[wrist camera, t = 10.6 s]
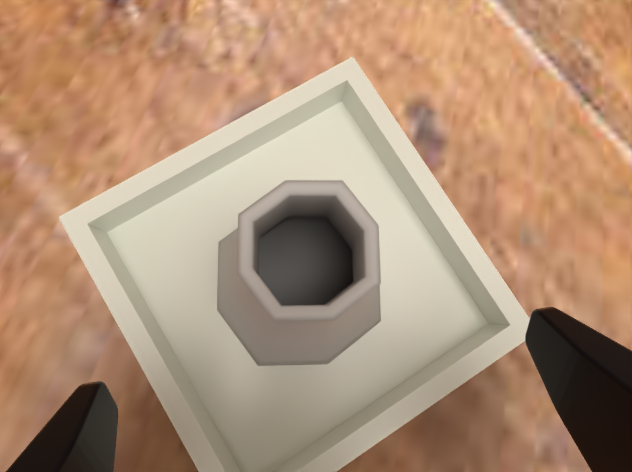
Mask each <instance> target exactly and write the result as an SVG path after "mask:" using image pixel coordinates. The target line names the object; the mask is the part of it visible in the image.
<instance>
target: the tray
mask: <svg viewBox="0 0 632 472" xmlns="http://www.w3.org/2000/svg"><path fill="white" fill-rule="evenodd" d="M285 180H343V181H344V183H345V184H346V185H347V186H348V188H349V189H350V190H351V191H352V193H353V194H354V195H355V196H356V198H357V199H358V200H359V201H360V203H361V204H362V205H363V206H364V208H365V209H366V210H367V211H368V213H369V214H370V215H371V216H372V218H373V219H374V220H375V221H376V223H377V224H378V225H379V247H380V273H381V284H380V310H381V322H379V323H378V324H377V325H376V326H374V327H373V328H372V329H371V330H370V331H368V332H367V333H366V334H365V335H363V336H362V337H361V338H360V339H358V340H357V341H356V342H355V343H353V344H352V345H351V346H350V347H349V348H347V349H346V350H345V351H344V352H342V353H341V354H340V355H339V356H337V357H336V358H335V359H334V360H333V361H331V362H330V363H329V364H322V365H276V366H258V365H257V364H256V362H255V361H254V360H253V358H252V357H251V356H250V354H249V353H248V351H247V350H246V349H245V347H244V346H243V345H242V343H241V342H240V341H239V339H238V338H237V336H236V335H235V334H234V332H233V331H232V330H231V328H230V327H229V326H228V324H227V323H226V321H225V320H224V319H223V317H222V316H221V315H220V313H219V312H218V311H217V285H218V242H219V241H220V240H222V239H223V238H225V237H226V236H227V235H229V234H230V233H231V232H233V231H234V230H236V229H237V228H238V214H239V213H241V212H242V211H243V210H245V209H246V208H248V207H249V206H250V205H252V204H253V203H254V202H256V201H257V200H259V199H260V198H261V197H263V196H264V195H266V194H267V193H268V192H270V191H271V190H273V189H274V188H275V187H277V186H278V185H279V184H281V183H282V182H284V181H285ZM59 219H60V221H61V223H62V224H63V226H64V228H65V230H66V232H67V234H68V235H69V237H70V239H71V241H72V243H73V244H74V246H75V248H76V250H77V252H78V254H79V255H80V257H81V259H82V261H83V263H84V264H85V266H86V268H87V270H88V272H89V274H90V275H91V277H92V279H93V281H94V283H95V284H96V286H97V288H98V290H99V292H100V293H101V295H102V297H103V299H104V301H105V303H106V304H107V306H108V308H109V310H110V312H111V313H112V315H113V317H114V319H115V321H116V323H117V324H118V326H119V328H120V330H121V332H122V333H123V335H124V337H125V339H126V341H127V343H128V344H129V346H130V348H131V350H132V352H133V353H134V355H135V357H136V359H137V361H138V363H139V364H140V366H141V368H142V370H143V372H144V373H145V375H146V377H147V379H148V381H149V382H150V384H151V386H152V388H153V390H154V392H155V393H156V395H157V397H158V399H159V401H160V402H161V404H162V406H163V408H164V410H165V412H166V413H167V415H168V417H169V419H170V421H171V422H172V424H173V426H174V428H175V430H176V432H177V433H178V435H179V437H180V439H181V441H182V442H183V444H184V446H185V448H186V450H187V452H188V453H189V455H190V457H191V459H192V461H193V462H194V464H195V466H196V468H197V470H198V472H337V471H338V470H339V469H341V468H342V467H344V466H345V465H347V464H348V463H350V462H351V461H352V460H354V459H355V458H357V457H358V456H360V455H361V454H363V453H364V452H365V451H367V450H368V449H370V448H371V447H373V446H374V445H375V444H377V443H378V442H380V441H381V440H383V439H384V438H386V437H387V436H388V435H390V434H391V433H393V432H394V431H396V430H397V429H399V428H400V427H401V426H403V425H404V424H406V423H407V422H409V421H410V420H412V419H413V418H414V417H416V416H417V415H419V414H420V413H422V412H423V411H425V410H426V409H427V408H429V407H430V406H432V405H433V404H435V403H436V402H437V401H439V400H440V399H442V398H443V397H445V396H446V395H448V394H449V393H450V392H452V391H453V390H455V389H456V388H458V387H459V386H461V385H462V384H463V383H465V382H466V381H468V380H469V379H471V378H472V377H474V376H475V375H476V374H478V373H479V372H481V371H482V370H484V369H485V368H486V367H488V366H489V365H491V364H492V363H494V362H495V361H497V360H498V359H499V358H501V357H502V356H504V355H505V354H507V353H508V352H510V351H511V350H512V349H514V348H515V347H517V346H518V345H520V344H521V343H523V342H524V341H525V335H526V331H527V328H528V324H529V321H530V319H529V317H528V316H527V314H526V313H525V311H524V310H523V308H522V307H521V305H520V304H519V302H518V301H517V299H516V298H515V296H514V295H513V293H512V292H511V290H510V289H509V287H508V286H507V284H506V283H505V281H504V280H503V278H502V277H501V276H500V274H499V273H498V271H497V270H496V268H495V267H494V265H493V264H492V262H491V261H490V259H489V258H488V256H487V255H486V253H485V252H484V250H483V249H482V247H481V246H480V244H479V243H478V241H477V240H476V238H475V237H474V235H473V234H472V232H471V231H470V229H469V228H468V227H467V225H466V224H465V222H464V221H463V219H462V218H461V216H460V215H459V213H458V212H457V210H456V209H455V207H454V206H453V204H452V203H451V201H450V200H449V198H448V197H447V195H446V194H445V192H444V191H443V189H442V188H441V186H440V185H439V183H438V182H437V180H436V179H435V178H434V176H433V175H432V173H431V172H430V170H429V169H428V167H427V166H426V164H425V163H424V161H423V160H422V158H421V157H420V155H419V154H418V152H417V151H416V149H415V148H414V146H413V145H412V143H411V142H410V140H409V139H408V137H407V136H406V134H405V133H404V131H403V130H402V129H401V127H400V126H399V124H398V123H397V121H396V120H395V118H394V117H393V115H392V114H391V112H390V111H389V109H388V108H387V106H386V105H385V103H384V102H383V100H382V99H381V97H380V96H379V94H378V93H377V91H376V90H375V88H374V87H373V85H372V84H371V82H370V81H369V80H368V78H367V77H366V75H365V74H364V72H363V71H362V69H361V68H360V66H359V65H358V63H357V62H356V60H355V59H354V57H351V58H349V59H347V60H345V61H343V62H342V63H340V64H338V65H336V66H334V67H332V68H331V69H329V70H327V71H325V72H323V73H321V74H320V75H318V76H316V77H314V78H312V79H310V80H309V81H307V82H305V83H303V84H301V85H299V86H298V87H296V88H294V89H292V90H290V91H288V92H287V93H285V94H283V95H281V96H279V97H277V98H276V99H274V100H272V101H270V102H268V103H266V104H265V105H263V106H261V107H259V108H257V109H255V110H254V111H252V112H250V113H248V114H246V115H244V116H243V117H241V118H239V119H237V120H235V121H233V122H232V123H230V124H228V125H226V126H224V127H222V128H221V129H219V130H217V131H215V132H213V133H211V134H210V135H208V136H206V137H204V138H202V139H200V140H199V141H197V142H195V143H193V144H191V145H189V146H188V147H186V148H184V149H182V150H180V151H178V152H177V153H175V154H173V155H171V156H169V157H167V158H166V159H164V160H162V161H160V162H158V163H156V164H155V165H153V166H151V167H149V168H147V169H145V170H144V171H142V172H140V173H138V174H136V175H134V176H133V177H131V178H129V179H127V180H125V181H123V182H122V183H120V184H118V185H116V186H114V187H112V188H111V189H109V190H107V191H105V192H103V193H101V194H100V195H98V196H96V197H94V198H92V199H90V200H88V201H87V202H85V203H83V204H81V205H79V206H77V207H76V208H74V209H72V210H70V211H68V212H66V213H65V214H63V215H61V216H59Z"/></svg>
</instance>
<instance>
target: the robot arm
mask: <svg viewBox="0 0 632 472" xmlns="http://www.w3.org/2000/svg"><path fill="white" fill-rule="evenodd" d="M525 340H526V345H527V347H528V350H529V352H530V354H531V356H532V358H533V361H534V363H535V365H536V367H537V369H538V372H539V374H540V376H541V378H542V380H543V383H544V385H545V387H546V389H547V391H548V394H549V396H550V398H551V400H552V402H553V404H554V406H555V408H556V410H557V412H558V414H559V416H560V418H561V419H562V421H563V423H564V425H565V426H566V428H567V430H568V431H569V433H570V435H571V437H572V438H573V440H574V442H575V443H576V445H577V447H578V449H579V450H580V452H581V454H582V455H583V457H584V459H585V460H586V462H587V464H588V466H589V467H590V469H591V471H592V472H632V351H631V350H629V349H627V348H626V347H624V346H622V345H620V344H619V343H617V342H615V341H613V340H612V339H610V338H608V337H606V336H604V335H603V334H601V333H599V332H597V331H596V330H594V329H592V328H590V327H589V326H587V325H585V324H583V323H581V322H580V321H578V320H576V319H574V318H573V317H571V316H569V315H567V314H566V313H564V312H562V311H560V310H558V309H556V308H554V307H546V308H540V309H536V310H534V311H533V312H532V314H531V317H530V321H529V324H528V328H527V331H526V335H525ZM117 424H118V409H117V405H116V403H115V401H114V399H113V398H112V396H111V394H110V392H109V390H108V388H107V386H106V385H105V383H103V382H101V381H98V382H92V383H86V384H82V385H80V386H79V387H78V388H77V389H76V390H75V391H74V392H73V393H72V395H71V396H70V397H69V398H68V399H67V400H66V402H65V403H64V404H63V405H62V406H61V408H60V409H59V410H58V411H57V412H56V413H55V415H54V416H53V417H52V418H51V419H50V420H49V422H48V423H47V424H46V425H45V426H44V428H43V429H42V430H41V431H40V432H39V433H38V435H37V436H36V437H35V438H34V439H33V440H32V442H31V443H30V444H29V445H28V446H27V447H26V449H25V450H24V451H23V452H22V453H21V455H20V456H19V457H18V458H17V459H16V460H15V462H14V463H13V464H12V465H11V466H10V467H9V469H8V470H7V471H6V472H113V471H114V459H115V447H116V435H117Z"/></svg>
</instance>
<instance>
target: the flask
mask: <svg viewBox="0 0 632 472" xmlns="http://www.w3.org/2000/svg"><path fill="white" fill-rule="evenodd" d="M380 284H381V273H380V247H379V225H378V224H377V223H376V221H375V220H374V219H373V218H372V216H371V215H370V214H369V213H368V211H367V210H366V209H365V208H364V206H363V205H362V204H361V203H360V201H359V200H358V199H357V198H356V196H355V195H354V194H353V193H352V191H351V190H350V189H349V188H348V186H347V185H346V184H345V183H344V181H343V180H285V181H284V182H282V183H281V184H279V185H278V186H277V187H275V188H274V189H273V190H271V191H270V192H268V193H267V194H266V195H264V196H263V197H261V198H260V199H259V200H257V201H256V202H254V203H253V204H252V205H250V206H249V207H248V208H246V209H245V210H243V211H242V212H241V213H239V214H238V228H237V229H236V230H234V231H233V232H231V233H230V234H229V235H227V236H226V237H225V238H223V239H222V240H220V241H219V242H218V285H217V311H218V312H219V313H220V315H221V316H222V317H223V319H224V320H225V321H226V323H227V324H228V326H229V327H230V328H231V330H232V331H233V332H234V334H235V335H236V336H237V338H238V339H239V341H240V342H241V343H242V345H243V346H244V347H245V349H246V350H247V351H248V353H249V354H250V356H251V357H252V358H253V360H254V361H255V362H256V364H257V365H258V366H276V365H322V364H329V363H330V362H331V361H333V360H334V359H335V358H336V357H337V356H339V355H340V354H341V353H342V352H344V351H345V350H346V349H347V348H349V347H350V346H351V345H352V344H353V343H355V342H356V341H357V340H358V339H360V338H361V337H362V336H363V335H365V334H366V333H367V332H368V331H370V330H371V329H372V328H373V327H374V326H376V325H377V324H378V323H379V322H381V310H380Z"/></svg>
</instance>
